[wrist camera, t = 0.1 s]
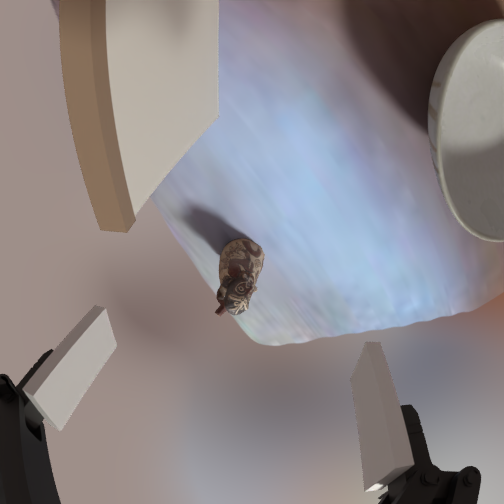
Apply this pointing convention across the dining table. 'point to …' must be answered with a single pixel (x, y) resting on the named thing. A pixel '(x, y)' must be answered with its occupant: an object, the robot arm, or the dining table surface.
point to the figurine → (238, 275)
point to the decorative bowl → (471, 129)
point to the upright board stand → (136, 93)
